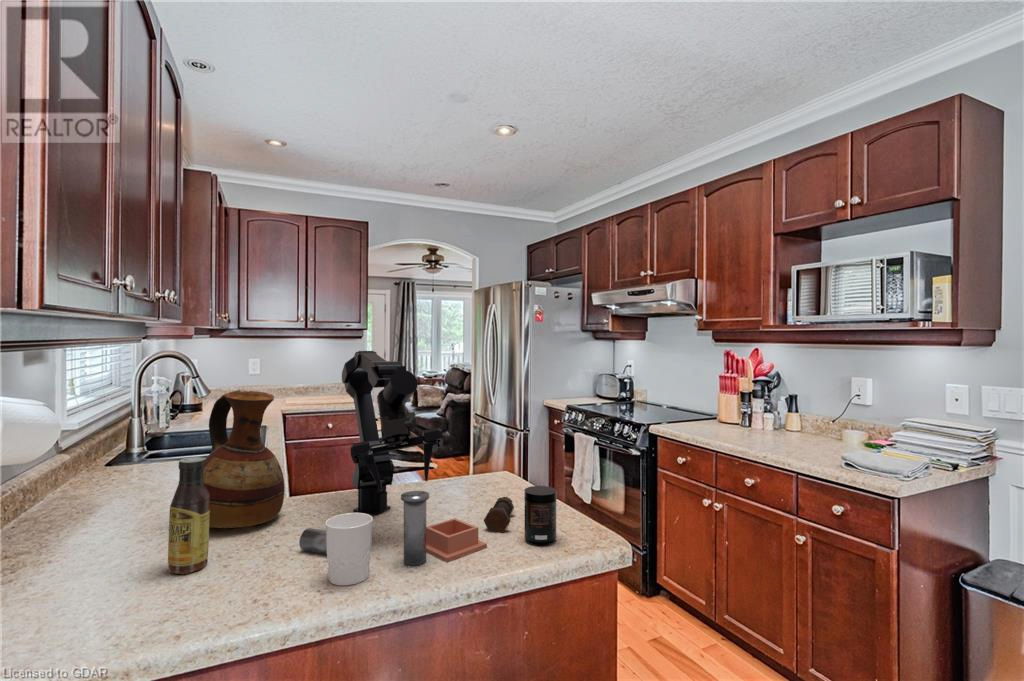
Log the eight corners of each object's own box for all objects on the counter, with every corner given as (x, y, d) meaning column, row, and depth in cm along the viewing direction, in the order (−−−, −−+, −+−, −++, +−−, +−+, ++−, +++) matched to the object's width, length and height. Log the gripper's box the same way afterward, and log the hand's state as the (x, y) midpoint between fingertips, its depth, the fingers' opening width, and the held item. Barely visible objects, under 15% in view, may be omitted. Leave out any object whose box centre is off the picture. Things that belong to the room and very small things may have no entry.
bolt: (508, 518, 126) (499, 539, 111) (491, 507, 127) (479, 526, 112) (520, 497, 126) (513, 516, 111) (503, 486, 126) (493, 503, 112)
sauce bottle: (159, 573, 91) (159, 461, 91) (192, 559, 97) (192, 454, 97) (185, 578, 89) (186, 464, 89) (217, 564, 95) (218, 456, 95)
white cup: (326, 591, 85) (327, 530, 85) (323, 571, 92) (324, 516, 92) (375, 582, 88) (375, 524, 88) (369, 564, 95) (369, 510, 95)
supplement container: (553, 533, 111) (553, 485, 111) (559, 546, 104) (559, 494, 104) (522, 534, 110) (522, 486, 110) (526, 547, 103) (526, 495, 103)
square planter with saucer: (416, 547, 103) (416, 527, 103) (455, 534, 110) (455, 515, 110) (446, 562, 96) (446, 540, 96) (486, 547, 103) (486, 527, 103)
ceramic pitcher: (235, 544, 104) (235, 396, 104) (163, 531, 111) (164, 393, 111) (303, 513, 123) (304, 388, 123) (238, 504, 129) (239, 386, 129)
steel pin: (394, 564, 95) (395, 496, 95) (412, 554, 100) (413, 489, 100) (416, 570, 93) (417, 500, 93) (434, 559, 97) (434, 493, 97)
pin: (301, 554, 101) (297, 535, 100) (315, 542, 105) (312, 523, 104) (353, 563, 97) (350, 543, 96) (365, 550, 101) (363, 530, 100)
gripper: (343, 408, 102) (351, 486, 95) (436, 392, 106) (451, 466, 100) (350, 427, 111) (358, 499, 105) (435, 411, 116) (448, 479, 109)
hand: (404, 485), depth 104 cm, fingers open, 9 cm apart
